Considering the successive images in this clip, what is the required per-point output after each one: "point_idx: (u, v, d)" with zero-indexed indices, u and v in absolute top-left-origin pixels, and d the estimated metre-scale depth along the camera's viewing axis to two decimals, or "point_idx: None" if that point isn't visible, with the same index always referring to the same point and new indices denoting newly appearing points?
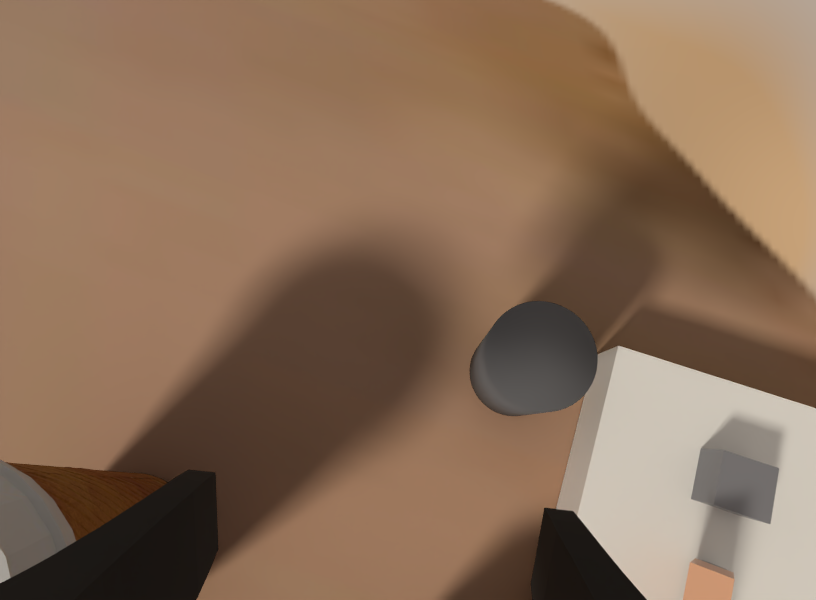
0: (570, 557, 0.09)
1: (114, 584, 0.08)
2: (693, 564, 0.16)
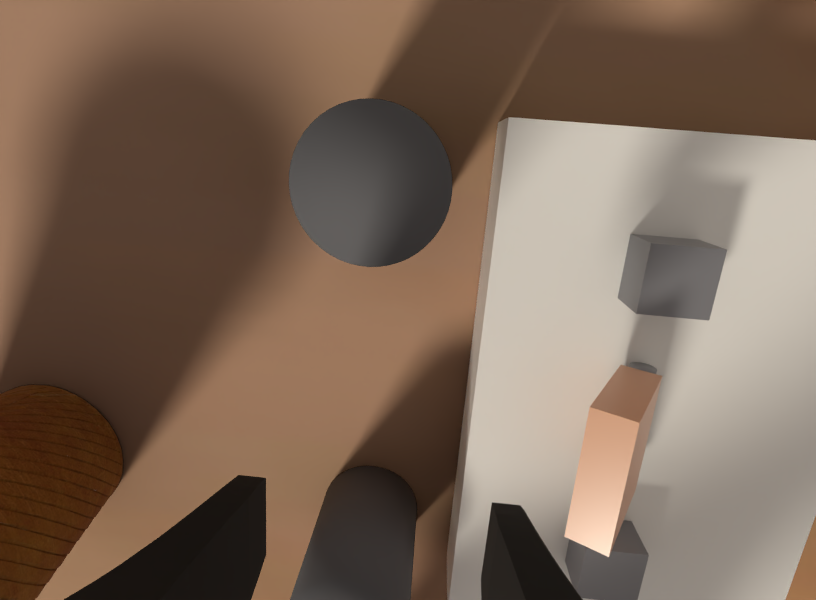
0: (507, 550, 0.09)
1: (184, 592, 0.08)
2: (593, 409, 0.13)
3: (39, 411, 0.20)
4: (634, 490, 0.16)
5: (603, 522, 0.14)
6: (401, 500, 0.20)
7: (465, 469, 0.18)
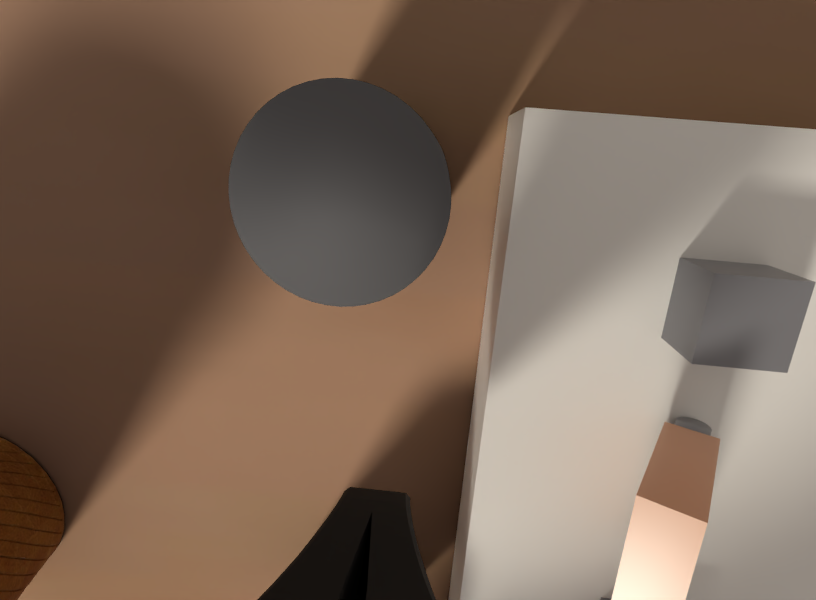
0: (370, 535, 0.09)
1: None
2: (641, 498, 0.10)
3: None
4: None
5: None
6: None
7: (467, 542, 0.15)
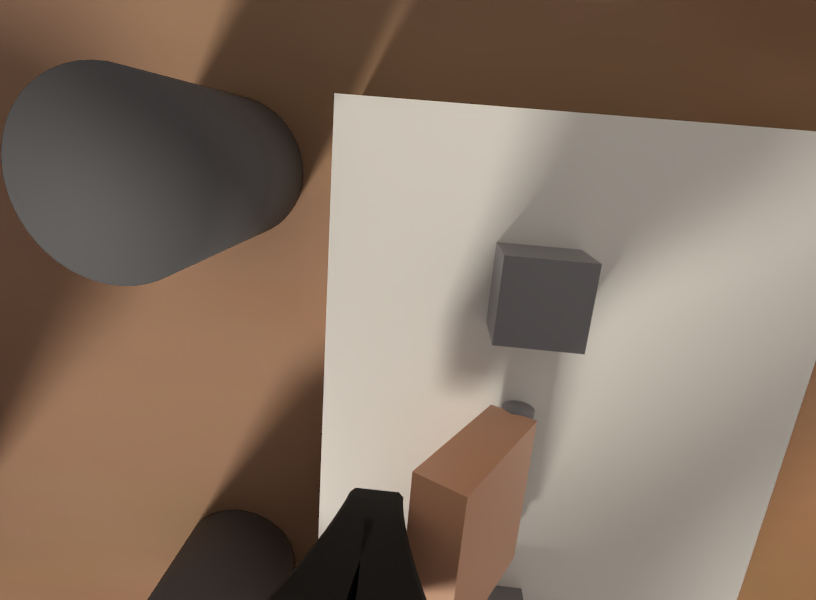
0: (362, 534, 0.09)
1: None
2: (416, 474, 0.10)
3: None
4: (509, 560, 0.13)
5: None
6: (265, 554, 0.17)
7: (319, 525, 0.15)
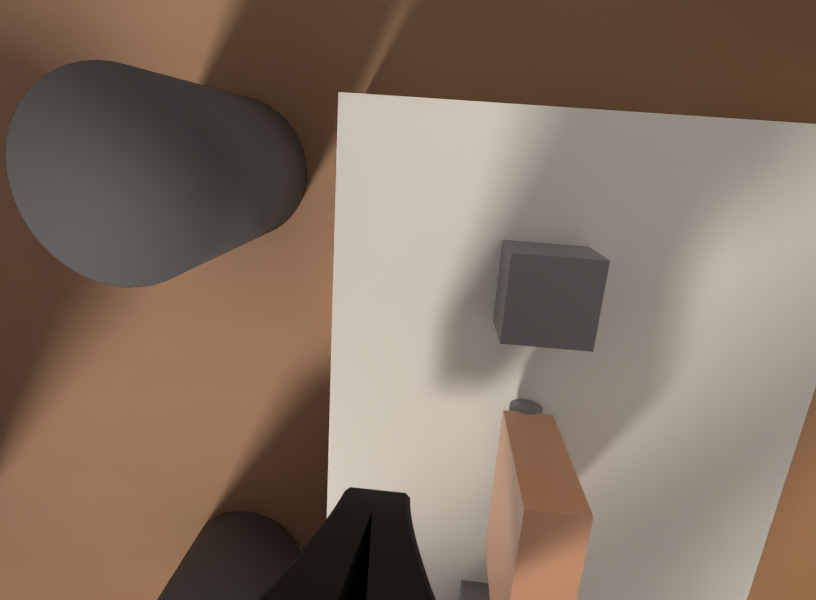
0: (370, 535, 0.09)
1: None
2: (529, 511, 0.09)
3: None
4: None
5: None
6: (272, 555, 0.17)
7: None
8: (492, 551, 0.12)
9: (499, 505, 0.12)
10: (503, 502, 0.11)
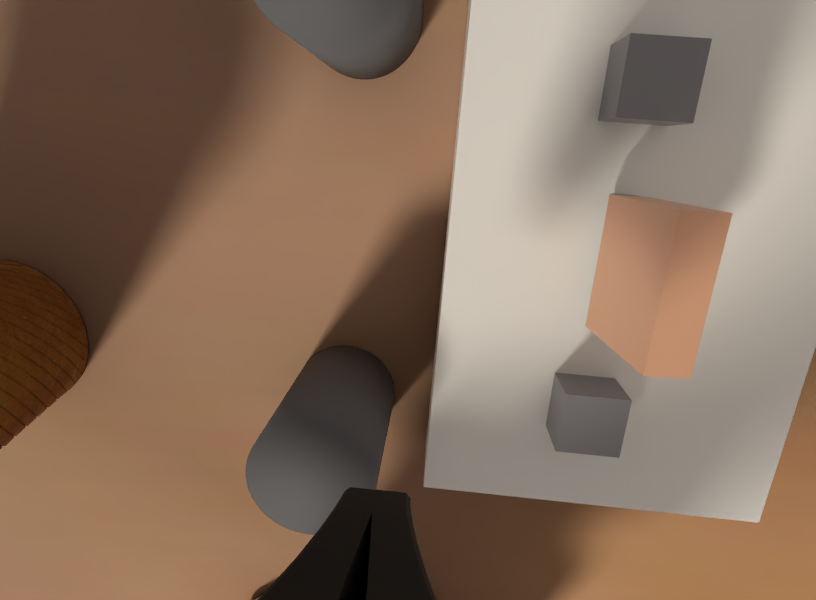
0: (370, 535, 0.09)
1: None
2: (684, 210, 0.11)
3: None
4: None
5: (687, 341, 0.12)
6: (376, 374, 0.20)
7: (440, 323, 0.17)
8: (607, 310, 0.14)
9: (618, 263, 0.14)
10: (628, 251, 0.13)
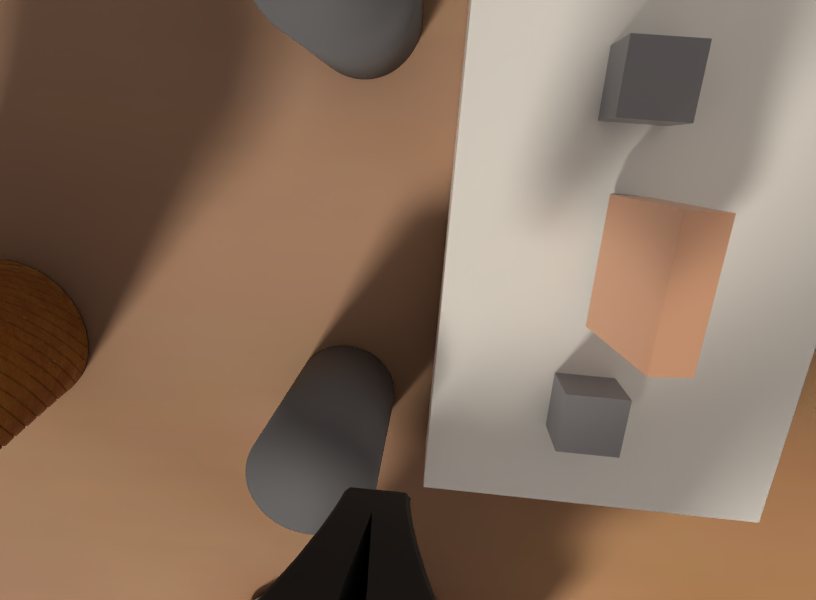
0: (370, 535, 0.09)
1: None
2: (688, 211, 0.11)
3: None
4: None
5: (690, 342, 0.12)
6: (376, 374, 0.20)
7: (440, 323, 0.17)
8: (608, 310, 0.14)
9: (619, 263, 0.14)
10: (630, 251, 0.13)
